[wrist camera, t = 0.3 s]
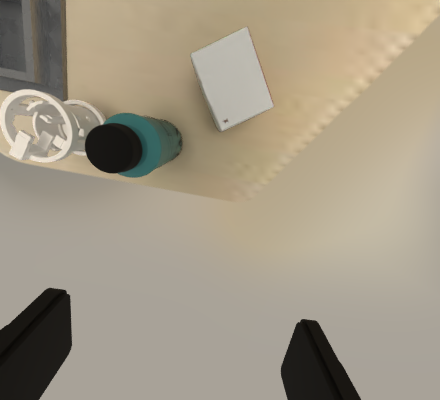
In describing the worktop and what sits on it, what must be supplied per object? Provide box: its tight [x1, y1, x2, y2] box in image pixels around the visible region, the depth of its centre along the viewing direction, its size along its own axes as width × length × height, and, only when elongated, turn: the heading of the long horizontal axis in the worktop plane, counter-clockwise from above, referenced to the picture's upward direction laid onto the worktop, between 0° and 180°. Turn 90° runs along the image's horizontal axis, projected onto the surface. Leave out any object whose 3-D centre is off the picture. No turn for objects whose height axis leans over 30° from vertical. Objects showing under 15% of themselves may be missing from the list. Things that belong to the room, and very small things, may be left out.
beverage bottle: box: [85, 113, 183, 178], centre depth 27 cm, size 6×7×20 cm
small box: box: [190, 26, 274, 132], centre depth 28 cm, size 8×6×13 cm
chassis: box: [0, 0, 67, 102], centre depth 29 cm, size 14×11×4 cm
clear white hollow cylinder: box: [0, 89, 106, 162], centre depth 28 cm, size 7×7×15 cm
